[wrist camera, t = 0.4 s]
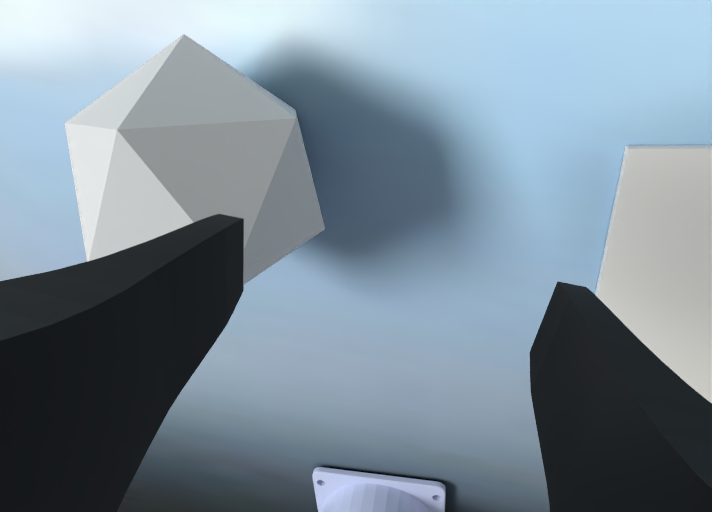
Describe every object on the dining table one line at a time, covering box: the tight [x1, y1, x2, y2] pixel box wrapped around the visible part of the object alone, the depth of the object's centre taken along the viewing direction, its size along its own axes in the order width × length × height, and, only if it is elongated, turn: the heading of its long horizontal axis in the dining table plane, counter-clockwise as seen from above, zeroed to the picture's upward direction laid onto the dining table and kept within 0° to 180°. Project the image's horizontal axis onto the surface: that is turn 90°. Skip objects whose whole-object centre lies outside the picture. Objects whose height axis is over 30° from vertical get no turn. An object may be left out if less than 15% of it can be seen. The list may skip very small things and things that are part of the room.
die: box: [65, 35, 325, 285], centre depth 18 cm, size 8×9×10 cm
